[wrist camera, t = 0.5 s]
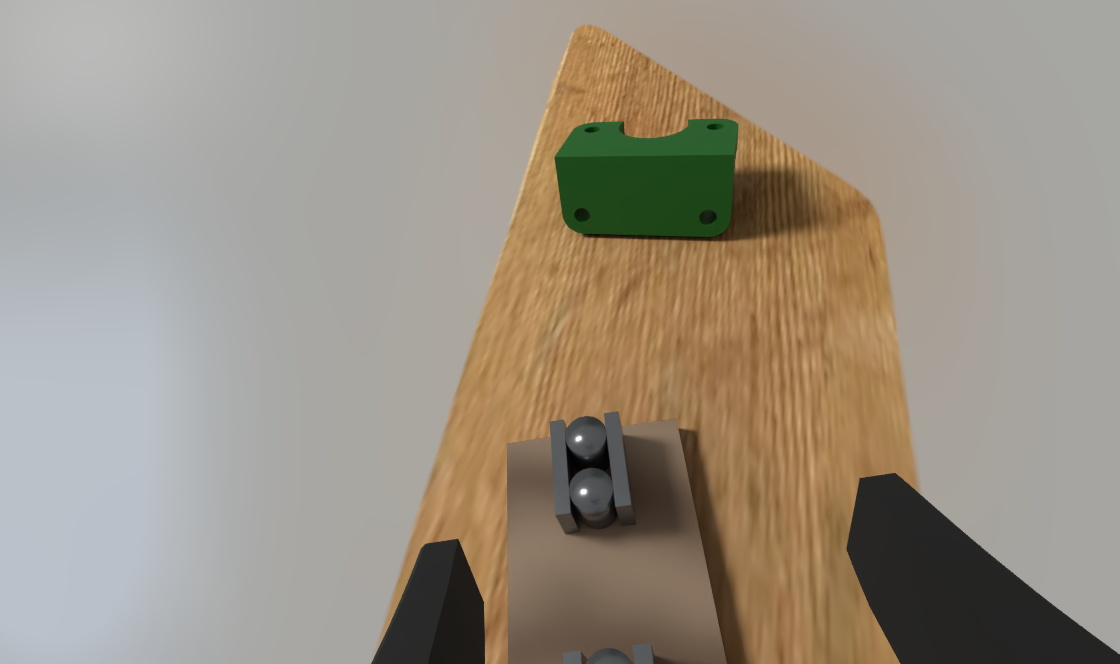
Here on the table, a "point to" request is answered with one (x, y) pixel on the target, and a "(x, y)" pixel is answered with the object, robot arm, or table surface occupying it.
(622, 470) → the steel ball guide
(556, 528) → the board
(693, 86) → the table surface
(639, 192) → the clamp
